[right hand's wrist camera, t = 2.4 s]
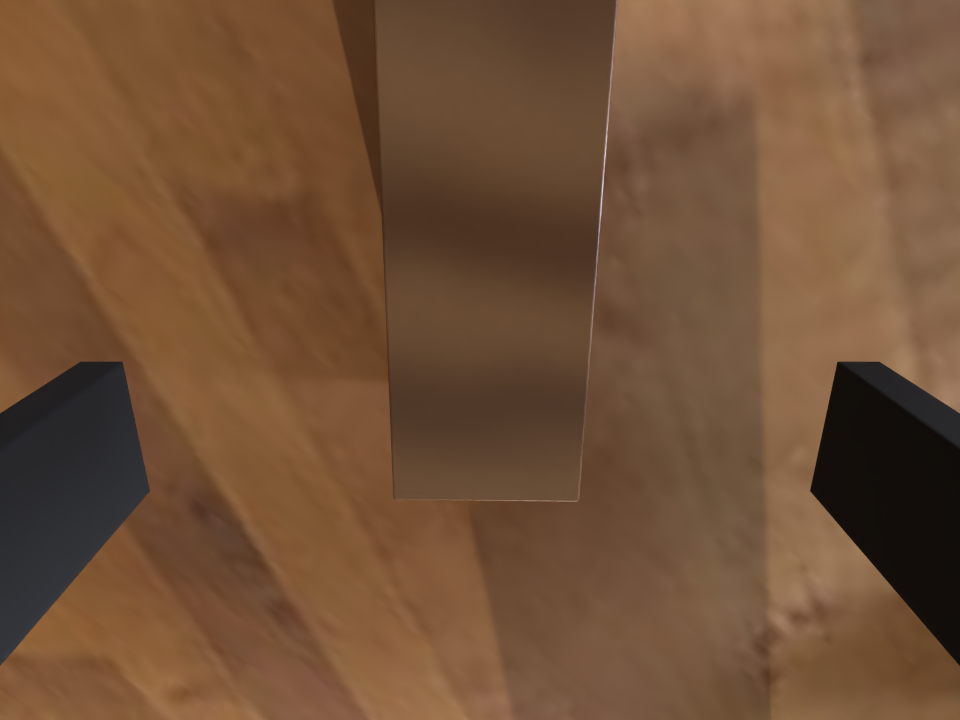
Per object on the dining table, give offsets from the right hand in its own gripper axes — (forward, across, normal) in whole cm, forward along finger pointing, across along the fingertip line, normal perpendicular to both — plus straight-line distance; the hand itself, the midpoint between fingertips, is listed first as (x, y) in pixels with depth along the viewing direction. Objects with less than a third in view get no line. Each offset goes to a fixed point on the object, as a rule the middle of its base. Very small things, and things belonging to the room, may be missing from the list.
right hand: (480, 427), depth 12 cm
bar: (+14, 0, -21) cm, 25 cm away
